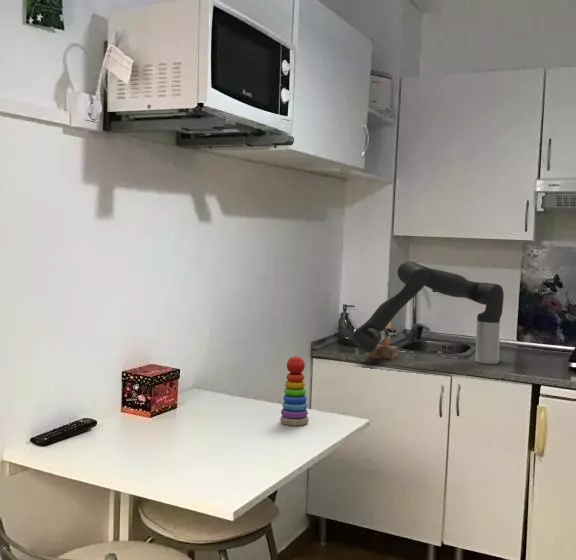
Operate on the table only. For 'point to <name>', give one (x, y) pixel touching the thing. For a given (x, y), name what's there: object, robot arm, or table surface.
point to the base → (384, 352)
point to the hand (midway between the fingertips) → (386, 329)
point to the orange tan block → (387, 340)
